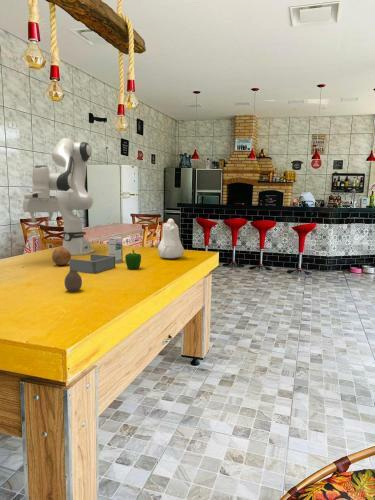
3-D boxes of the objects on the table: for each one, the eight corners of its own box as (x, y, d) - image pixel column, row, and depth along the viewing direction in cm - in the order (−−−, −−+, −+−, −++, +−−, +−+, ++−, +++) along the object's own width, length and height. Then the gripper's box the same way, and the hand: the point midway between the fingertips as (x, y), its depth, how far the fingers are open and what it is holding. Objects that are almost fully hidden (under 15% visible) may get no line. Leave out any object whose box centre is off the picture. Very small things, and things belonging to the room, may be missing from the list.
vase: (75, 287, 164) (75, 267, 162) (85, 290, 159) (85, 269, 158) (61, 290, 158) (60, 269, 157) (71, 293, 154) (70, 272, 153)
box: (91, 264, 214) (91, 253, 213) (115, 267, 208) (115, 256, 207) (69, 270, 197) (69, 259, 196) (94, 273, 191) (94, 261, 190)
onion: (74, 263, 215) (73, 246, 213) (66, 267, 205) (66, 248, 204) (57, 263, 216) (56, 245, 214) (49, 266, 206) (48, 248, 204)
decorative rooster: (184, 260, 231) (185, 219, 227) (158, 260, 230) (158, 219, 226) (181, 254, 256) (182, 216, 252) (157, 253, 254) (158, 216, 251)
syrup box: (115, 263, 219) (115, 238, 217) (108, 262, 222) (108, 237, 220) (122, 262, 223) (122, 237, 221) (115, 260, 227) (115, 236, 225)
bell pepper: (138, 270, 201) (138, 251, 199) (123, 269, 202) (123, 250, 201) (143, 267, 209) (143, 249, 207) (128, 266, 211) (128, 248, 209)
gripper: (54, 196, 220) (54, 220, 222) (20, 194, 204) (21, 220, 205) (61, 196, 217) (61, 220, 218) (27, 194, 200) (28, 221, 201)
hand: (41, 220), depth 211 cm, fingers open, 8 cm apart
